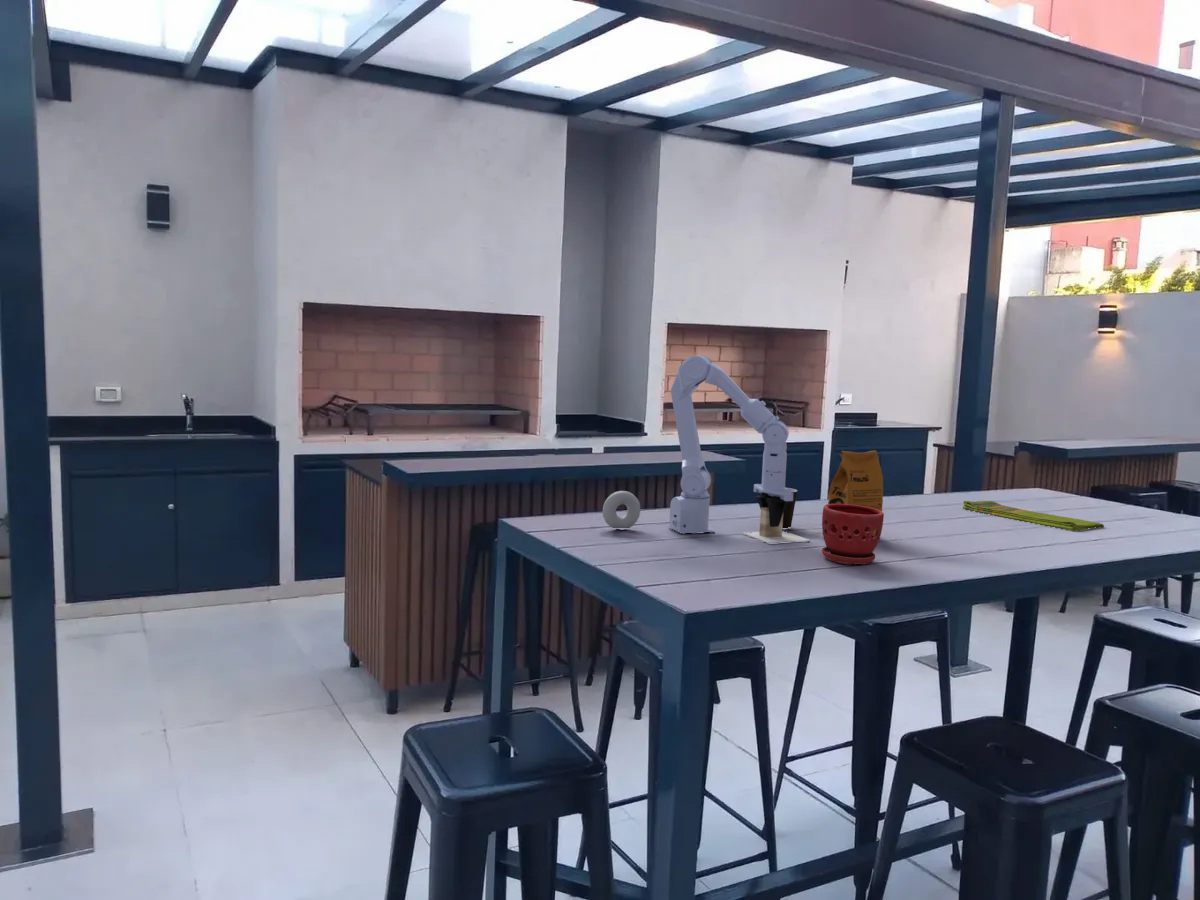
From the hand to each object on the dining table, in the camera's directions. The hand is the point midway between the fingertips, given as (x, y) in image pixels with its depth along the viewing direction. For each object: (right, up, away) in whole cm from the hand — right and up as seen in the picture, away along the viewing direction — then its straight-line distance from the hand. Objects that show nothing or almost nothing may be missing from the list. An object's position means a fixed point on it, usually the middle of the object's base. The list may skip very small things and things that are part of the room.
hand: (771, 525), depth 228 cm
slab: (0, -3, 0) cm, 3 cm away
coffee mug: (+4, -2, +15) cm, 16 cm away
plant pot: (+14, -6, -22) cm, 27 cm away
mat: (+1, -3, 0) cm, 3 cm away
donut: (-37, -2, +3) cm, 37 cm away
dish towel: (+83, -2, +41) cm, 92 cm away
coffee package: (+21, -4, +4) cm, 22 cm away
